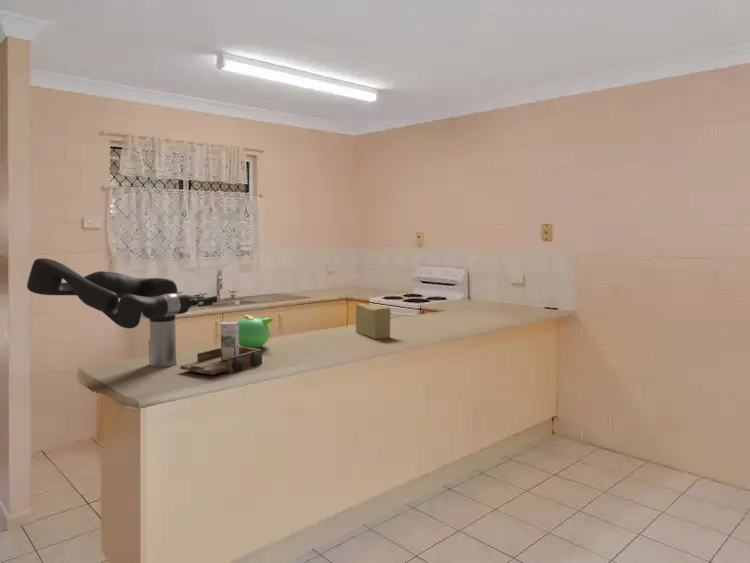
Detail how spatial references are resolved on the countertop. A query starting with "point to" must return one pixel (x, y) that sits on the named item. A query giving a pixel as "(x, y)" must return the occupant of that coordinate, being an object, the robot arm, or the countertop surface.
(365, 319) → the olive rectangular block
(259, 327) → the green ball creature
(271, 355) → the countertop surface
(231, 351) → the syrup box
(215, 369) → the tailgate
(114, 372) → the countertop surface
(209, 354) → the cart
